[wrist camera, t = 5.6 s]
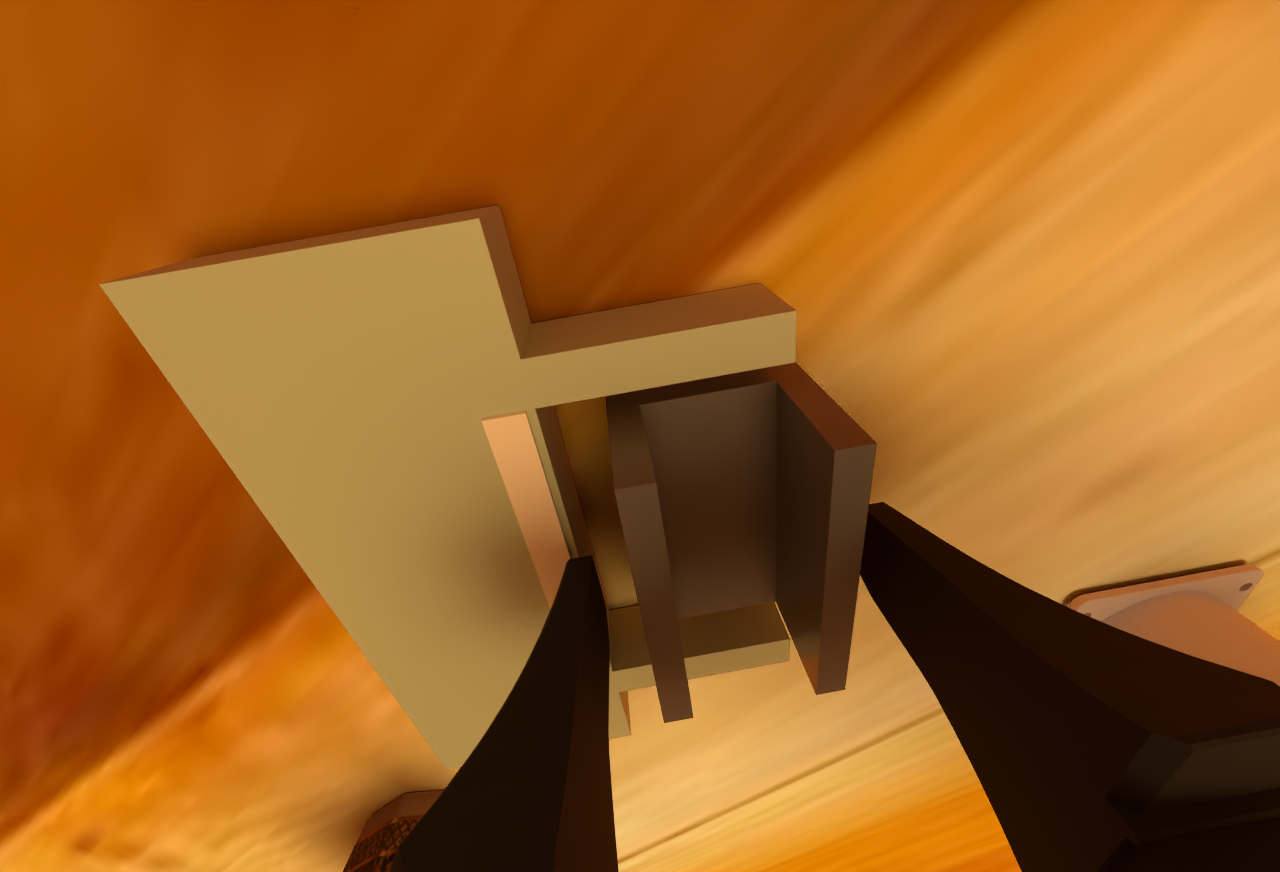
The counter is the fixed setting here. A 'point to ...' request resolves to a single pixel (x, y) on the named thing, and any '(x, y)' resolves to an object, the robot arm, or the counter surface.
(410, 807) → the ceramic cup
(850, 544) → the chute
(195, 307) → the tan bracket
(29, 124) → the counter surface
